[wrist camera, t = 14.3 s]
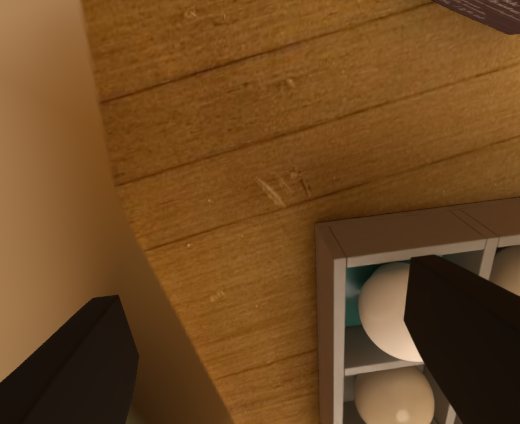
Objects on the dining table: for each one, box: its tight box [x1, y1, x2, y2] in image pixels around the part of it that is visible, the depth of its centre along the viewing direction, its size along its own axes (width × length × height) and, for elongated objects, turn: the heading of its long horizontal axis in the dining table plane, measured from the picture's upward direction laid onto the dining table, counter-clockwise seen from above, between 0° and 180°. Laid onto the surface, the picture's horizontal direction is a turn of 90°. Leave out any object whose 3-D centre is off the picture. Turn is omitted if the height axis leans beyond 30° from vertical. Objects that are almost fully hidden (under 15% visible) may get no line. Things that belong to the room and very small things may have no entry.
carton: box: [315, 197, 520, 424], centre depth 22 cm, size 15×22×4 cm
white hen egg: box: [358, 262, 423, 362], centre depth 18 cm, size 5×5×5 cm
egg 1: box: [353, 365, 435, 424], centre depth 21 cm, size 5×5×5 cm
